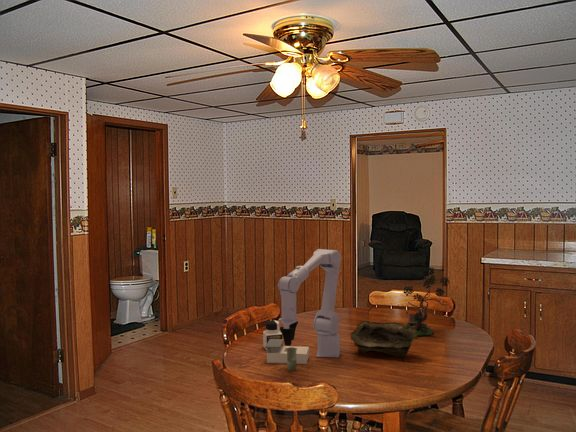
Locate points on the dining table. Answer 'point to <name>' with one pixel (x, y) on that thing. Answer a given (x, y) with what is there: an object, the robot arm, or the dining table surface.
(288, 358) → the dowel
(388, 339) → the dark green planter
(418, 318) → the bonsai tree
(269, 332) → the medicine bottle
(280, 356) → the socket board
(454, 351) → the dining table surface
